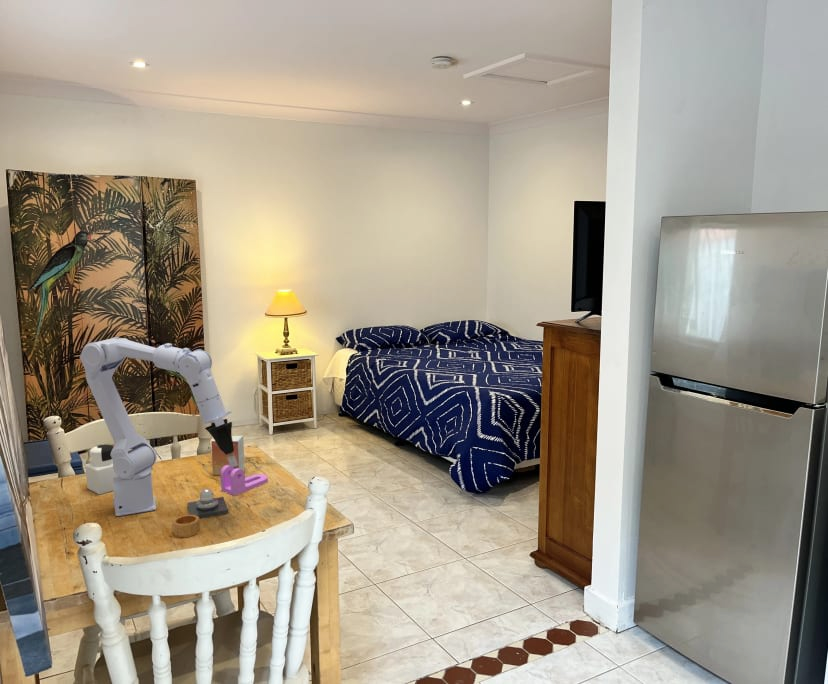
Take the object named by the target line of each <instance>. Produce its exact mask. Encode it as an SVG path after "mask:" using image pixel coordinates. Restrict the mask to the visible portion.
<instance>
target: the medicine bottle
mask: <svg viewBox="0 0 828 684" xmlns="http://www.w3.org/2000/svg"><path fill="white" fill-rule="evenodd" d="M113 447H114V445H112V444H100V445H95V446H93V447H92V448H91V449H90V452H89V453H90V463H87V464H85V467H84V468H85V478H86V487H87V490H90V491H91V492H93V493H96V494H97V495H104V494H106V493H109V492H113V478H114V477H118V475H117V474H116V473H115V471H114V469H113V460H112V457H111V455H110V454H111V451H112V449H113Z"/></svg>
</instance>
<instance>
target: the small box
mask: <svg viewBox="0 0 828 684" xmlns="http://www.w3.org/2000/svg"><path fill="white" fill-rule="evenodd" d="M232 441H233V446H234V452H231V453H229V454H227V455H225V453H224V452H222V451H221V450H220V448H219V446H218V445H217V443H216V441H215V440H214V438H213V439H212V440H211V464H212V467H211V468H212V476H221V475H220V472H221V469H222V468H223V467H224V466H225V465H229V466H232V467H234V469H236V468H238V469H241V470H243V471H244V470H245V468H246V467H245V443H244V441H245V440H244V435H232ZM227 473H228V472H227Z"/></svg>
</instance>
